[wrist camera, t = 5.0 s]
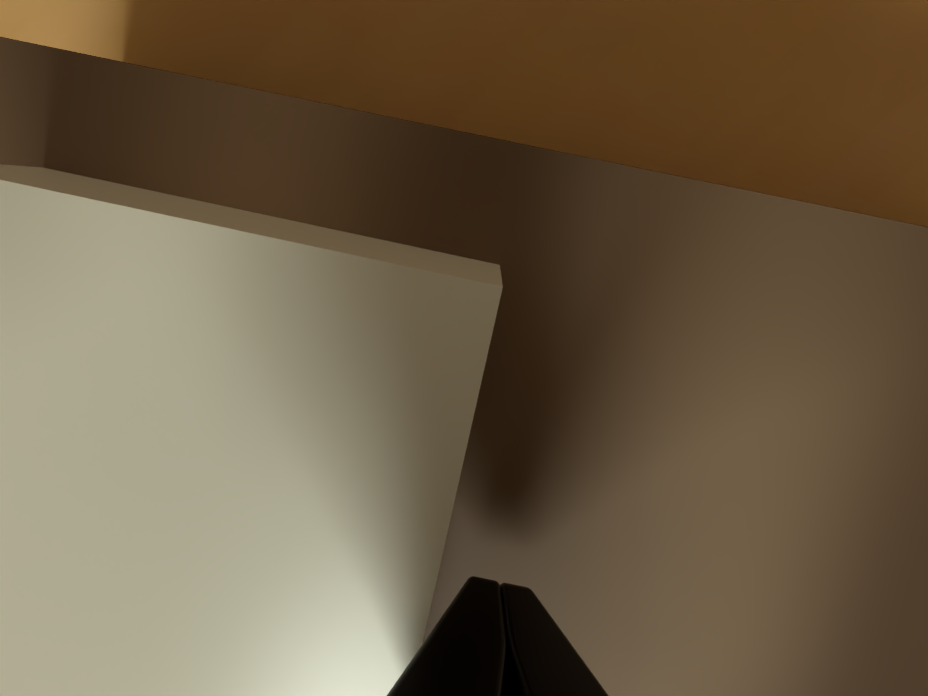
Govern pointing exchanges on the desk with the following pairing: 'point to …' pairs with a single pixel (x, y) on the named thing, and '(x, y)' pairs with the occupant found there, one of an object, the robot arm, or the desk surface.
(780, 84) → the desk surface
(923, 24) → the desk surface
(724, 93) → the desk surface
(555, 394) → the riser
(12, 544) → the cream rectangular box
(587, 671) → the robot arm
